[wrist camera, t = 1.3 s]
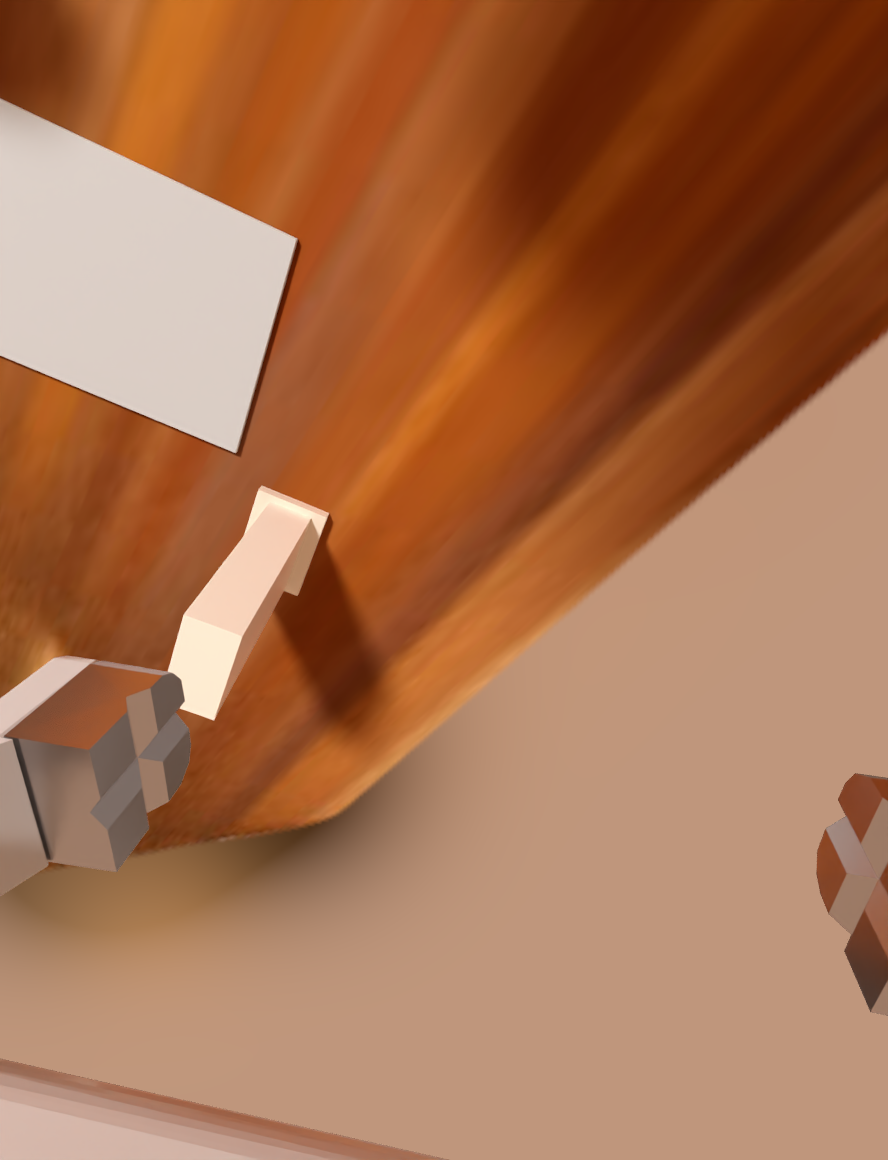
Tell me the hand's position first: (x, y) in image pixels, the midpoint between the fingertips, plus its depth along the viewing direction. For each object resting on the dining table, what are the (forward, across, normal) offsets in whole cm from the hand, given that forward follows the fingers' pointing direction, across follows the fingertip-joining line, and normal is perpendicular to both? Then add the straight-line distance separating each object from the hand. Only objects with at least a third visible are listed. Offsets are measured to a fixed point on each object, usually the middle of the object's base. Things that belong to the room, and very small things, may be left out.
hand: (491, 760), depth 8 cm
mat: (+34, +27, -3) cm, 43 cm away
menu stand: (+36, +17, +13) cm, 42 cm away
